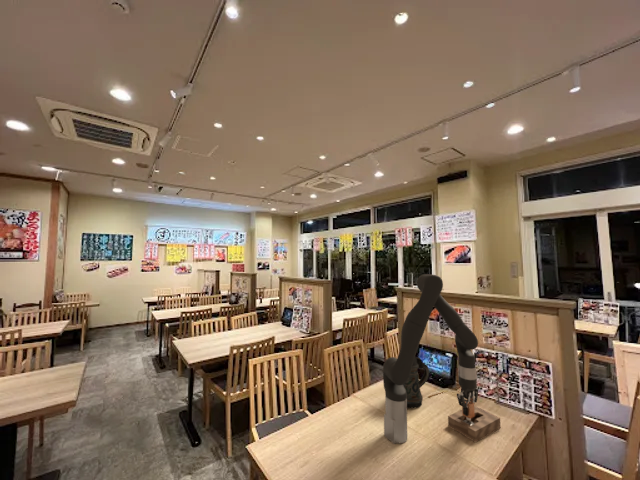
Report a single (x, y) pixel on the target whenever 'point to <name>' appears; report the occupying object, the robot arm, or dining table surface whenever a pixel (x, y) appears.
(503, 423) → the dining table surface
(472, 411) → the t peg
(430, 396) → the axe
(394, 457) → the dining table surface
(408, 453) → the dining table surface
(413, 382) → the beer stein
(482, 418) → the keyhole plate
